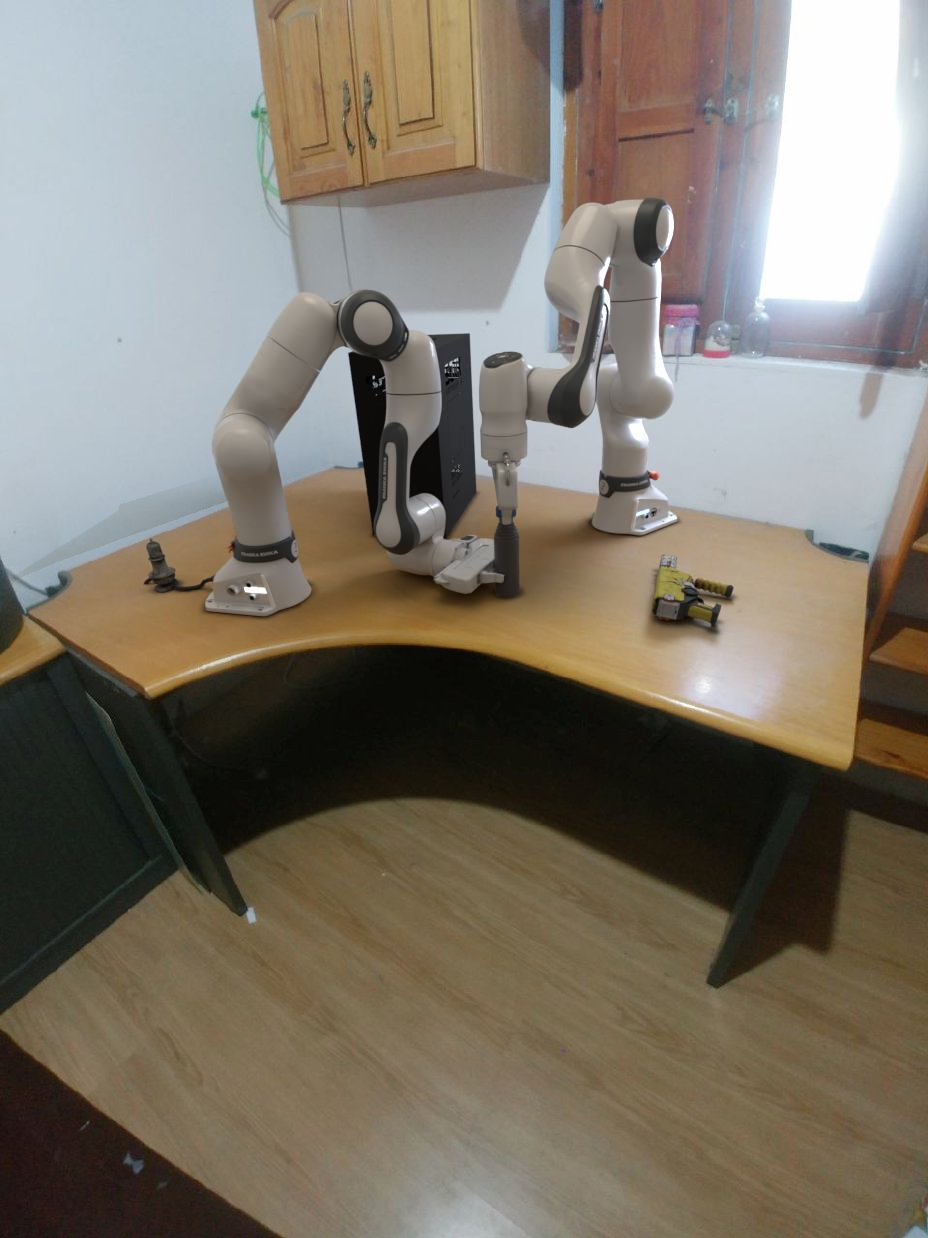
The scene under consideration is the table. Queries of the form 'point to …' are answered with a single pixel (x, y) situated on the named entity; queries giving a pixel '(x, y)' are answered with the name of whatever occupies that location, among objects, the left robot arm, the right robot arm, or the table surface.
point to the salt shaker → (160, 568)
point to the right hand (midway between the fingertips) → (505, 516)
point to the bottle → (507, 559)
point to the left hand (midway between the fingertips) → (511, 571)
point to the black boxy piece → (442, 446)
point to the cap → (499, 513)
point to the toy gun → (684, 594)
